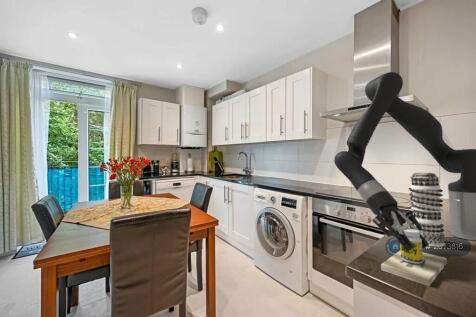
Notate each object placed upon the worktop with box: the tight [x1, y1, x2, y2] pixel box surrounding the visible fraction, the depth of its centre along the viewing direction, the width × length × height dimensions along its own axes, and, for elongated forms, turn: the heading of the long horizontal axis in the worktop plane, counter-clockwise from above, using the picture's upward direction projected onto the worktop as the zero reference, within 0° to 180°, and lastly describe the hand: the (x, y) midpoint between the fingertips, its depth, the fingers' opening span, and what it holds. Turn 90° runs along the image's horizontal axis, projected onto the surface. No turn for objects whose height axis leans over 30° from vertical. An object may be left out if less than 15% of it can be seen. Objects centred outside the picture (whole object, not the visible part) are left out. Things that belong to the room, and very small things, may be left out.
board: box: [380, 250, 448, 287], centre depth 59 cm, size 18×10×2 cm, turn 126°
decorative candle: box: [408, 172, 446, 248], centre depth 76 cm, size 9×9×25 cm
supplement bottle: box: [399, 227, 423, 264], centre depth 59 cm, size 5×5×8 cm
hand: (418, 247), depth 57 cm, fingers closed on supplement bottle, 4 cm apart
